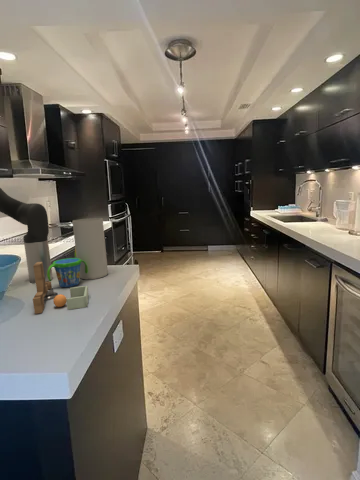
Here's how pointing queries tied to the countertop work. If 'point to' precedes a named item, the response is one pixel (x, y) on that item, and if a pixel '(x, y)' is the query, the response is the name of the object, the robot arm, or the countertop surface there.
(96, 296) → the countertop surface
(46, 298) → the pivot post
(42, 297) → the lever
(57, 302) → the ball
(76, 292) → the sage green c-shaped clamp
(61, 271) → the snack cup
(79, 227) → the cylinder vase
